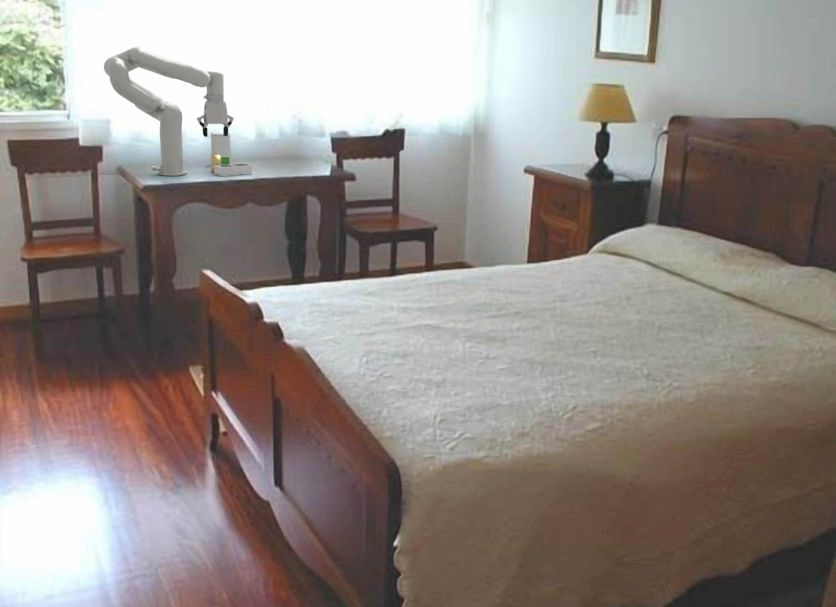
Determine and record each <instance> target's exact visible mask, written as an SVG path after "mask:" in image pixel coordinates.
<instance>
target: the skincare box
mask: <svg viewBox="0 0 836 607" xmlns="http://www.w3.org/2000/svg"><path fill="white" fill-rule="evenodd" d="M210 142H211V143H210V145H211V147H210V149H211V154H220V156H221V165H225V164H231V134H230V133H229V132H228V136H227V137H226V136H224V135H223V132H210ZM211 154H210V155H211Z"/></svg>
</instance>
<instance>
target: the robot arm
mask: <svg viewBox="0 0 836 607" xmlns="http://www.w3.org/2000/svg"><path fill="white" fill-rule="evenodd" d="M138 68H140V69H143V70H145V71H148V72H152V73H155V74H158V75H160V76H164V77H166V78H169V79H174V80H179V81H181V82H185V83H188V84H190V85H192V86H194V87H199V88H206V94H205V95H203V99H206V100H205V101H204V107H203V108H204V109H203V114H202V115H200V116H198V117H197V118H196V120H197V122H198V125H200V126H201V128H202V135H203V137H205V138H207V137H209V135H208V133H209V132H208V125H223V129H222V130H223V131H222V133H223V135H224V136H226V137H227V136H228V133H229V128H230V126H231V125H232V123H233V121H234V119H235V118H234V117H233V116H230V115H229V114H228V108H227V103H226V101H225V100H224V96H225V94H224V91H225V90H224V72H223V71H222V70H217V69H211V70H205V69H201V68H199V67H196V66H193V65H190V64H188V63H185V62H182V61H180V60H177V59H175V58H172V57H170V56H167V55H164V54H162V53H159V52H155V51H153V50H150V49H147V48H146V47H142V46H141V47H139V46H134V47H132V48H129V49H127V50H125V51H122V52H121V53H118V54H116V55H113V56H111V57H109V58H107V59H106V61H105V62H104V64H103V70H104V72H105V74H106V75H107V76H108V77H109V82H110V84H111V87H112V89H113V90H114V91H115V93H117V94H118V95H119V96H120V97H122V98H123V99H125V100H127V101H129V102H130V103H131V104H133V105H134V106H135V107H136V109H138V110H140V111H141V112H143V113H145V114H147V115H148V116H150V117H152V118H154V119H155V120H157V121H159V143H160V157H161V158H160V161H161V162H160V163H158V165H156V166H155V165H152V166H150V171H156V172H157V171H158V175H159V176H166V177H167V176H169V177H177V176H179V177H180V176H185V175H187V174H188V171H187V170H186V169H184V157H183V154H184V153H183V133H182V131H183V130H182V129H183V128H182V125H183V112H182V110H181V109H180V107H179V105H177V104H176V103H174V102H173V103H172V102H169V101H168V100H165V99H164V98H162V97H161V96H159V95H157V94H156V92H154V91H153V90H150V89H148V88H146V87H144V86H142V85H141V84H139V83H137V82H136V81H135V80H133V79H132V78H131V77H130V74H129V73H130V72H131V71H133V70H136V69H138ZM202 119H203V122H202ZM228 119H229V120H228Z"/></svg>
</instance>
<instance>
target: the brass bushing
mask: <svg viewBox="0 0 836 607" xmlns="http://www.w3.org/2000/svg"><path fill="white" fill-rule="evenodd" d="M214 165H221V156H220V154H210V169H211V170H210V172H211V173H213V172H214Z"/></svg>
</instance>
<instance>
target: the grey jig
mask: <svg viewBox="0 0 836 607" xmlns="http://www.w3.org/2000/svg"><path fill="white" fill-rule="evenodd" d="M252 168H253V166H252V165H251V164H248V163H245V162H243V163H242V162H241V163H230V164H225V165H214V173H215V174H214V173H213V174H214V175H216V174H217V175H216V176H219V175H220V176H219V177H231V176H230V175H235V176H240V175H239V174H249V175H253V171H252V170H253V169H252Z"/></svg>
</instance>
